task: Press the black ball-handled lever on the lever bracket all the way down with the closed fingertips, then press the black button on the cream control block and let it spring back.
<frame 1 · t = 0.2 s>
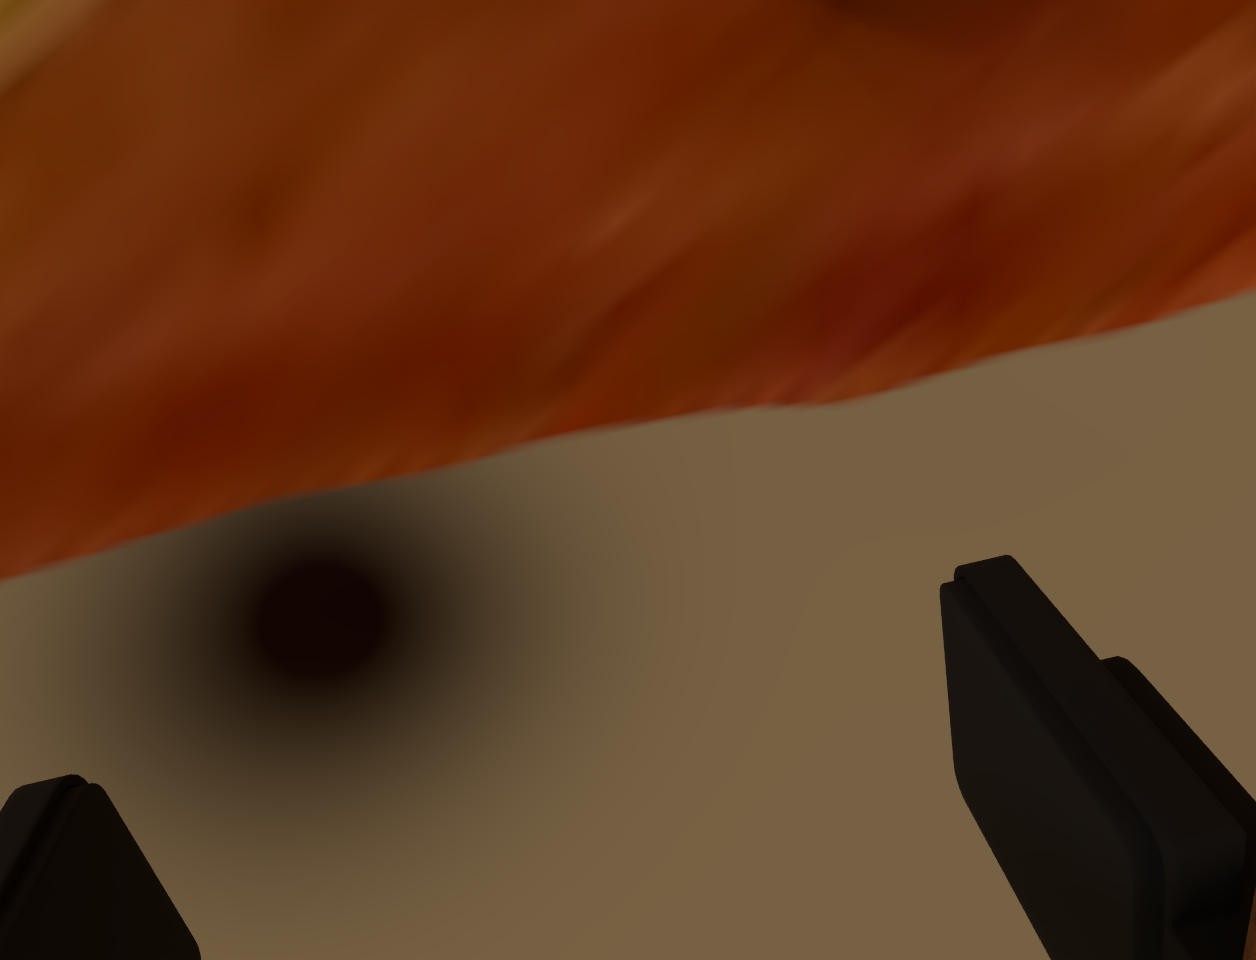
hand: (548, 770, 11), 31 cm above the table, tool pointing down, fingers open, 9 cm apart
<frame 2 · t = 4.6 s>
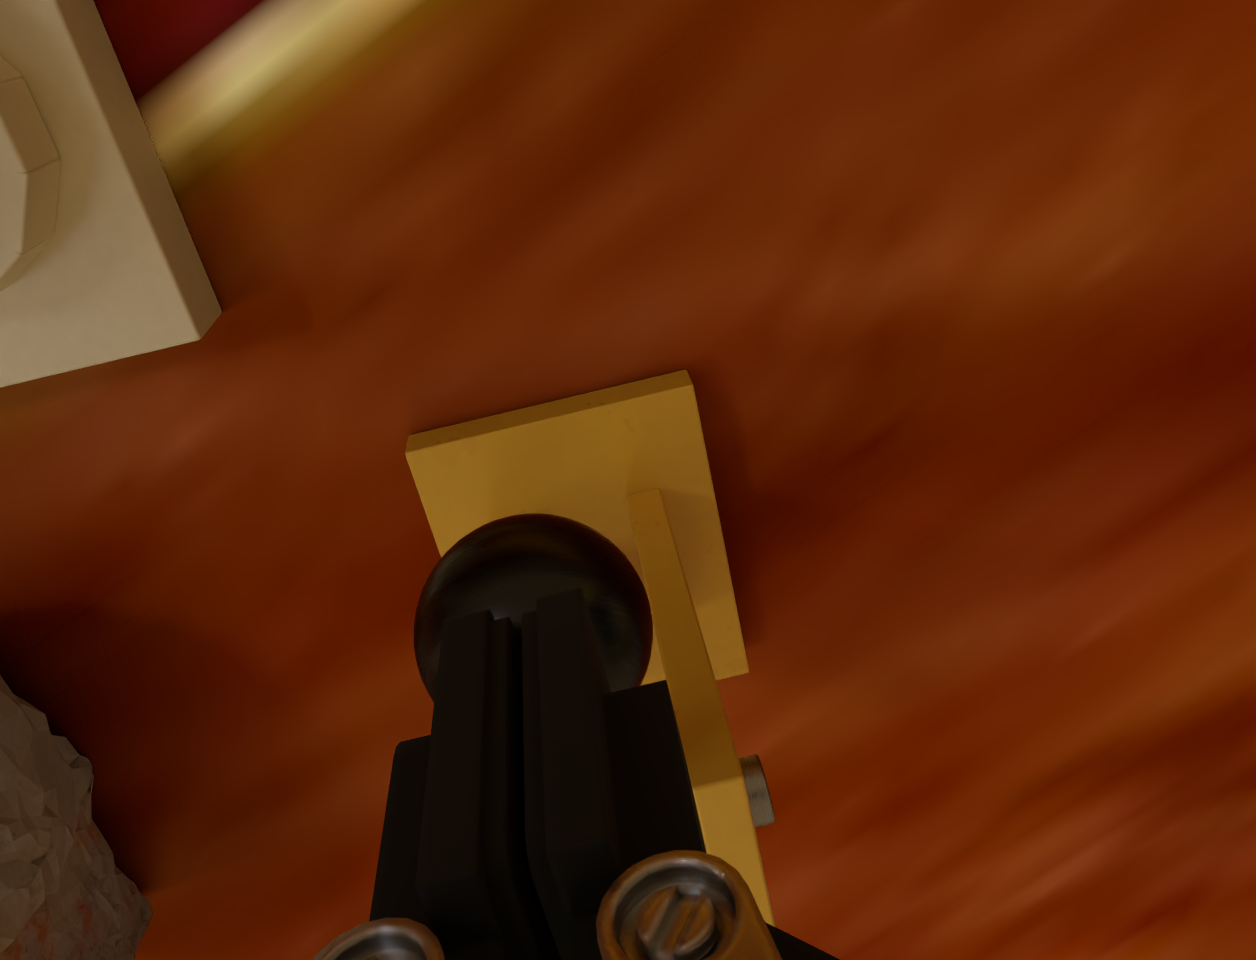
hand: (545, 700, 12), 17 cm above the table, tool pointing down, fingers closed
lever bracket: (587, 550, 31), on the table
press lever: (588, 744, 17), point 13 cm above the table, hinge at 27.6°, touching gripper
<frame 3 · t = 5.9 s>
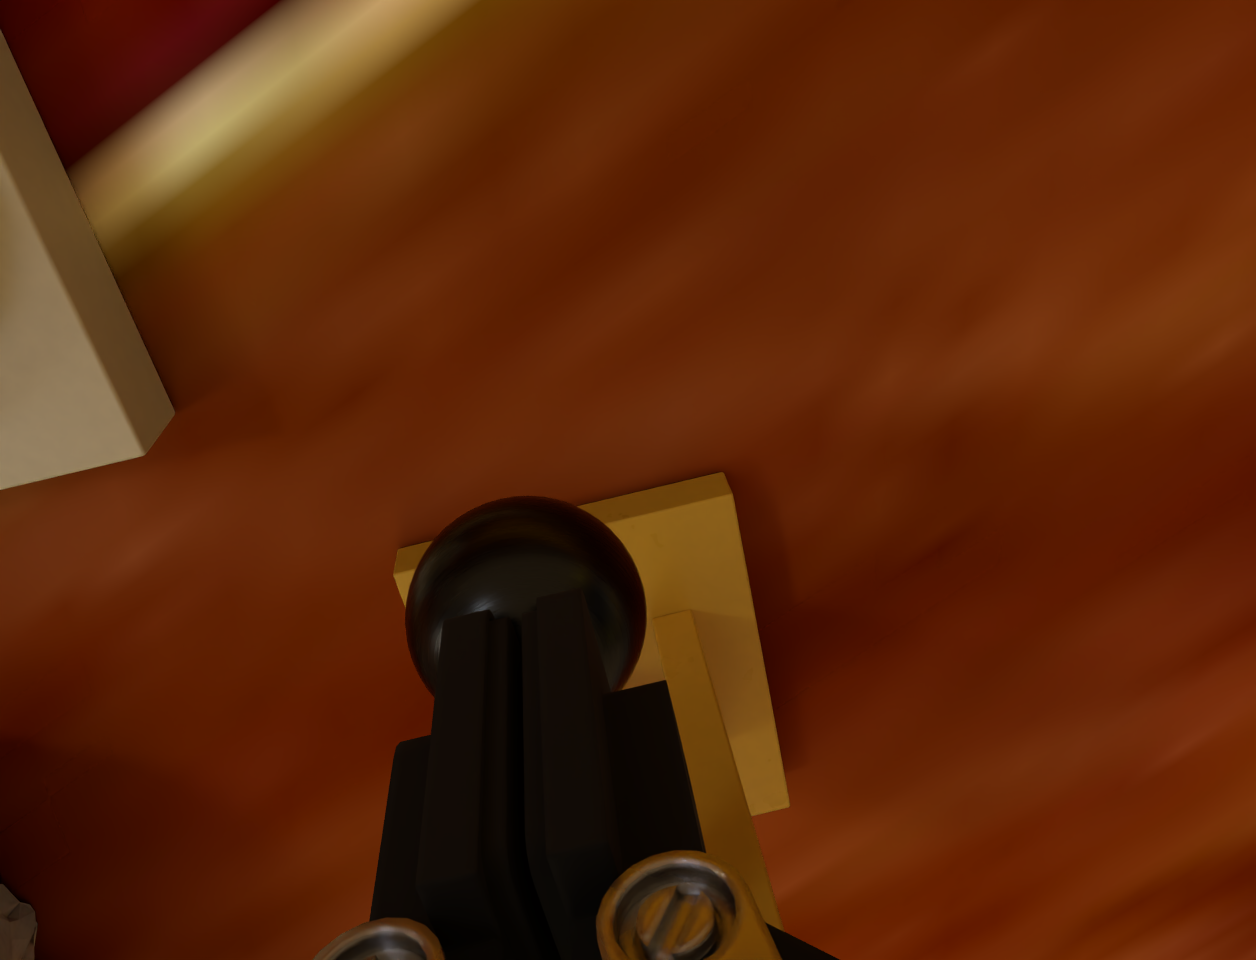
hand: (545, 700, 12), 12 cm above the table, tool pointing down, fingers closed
lever bracket: (605, 672, 27), on the table
press lever: (601, 867, 15), point 11 cm above the table, hinge at -5.8°, touching gripper
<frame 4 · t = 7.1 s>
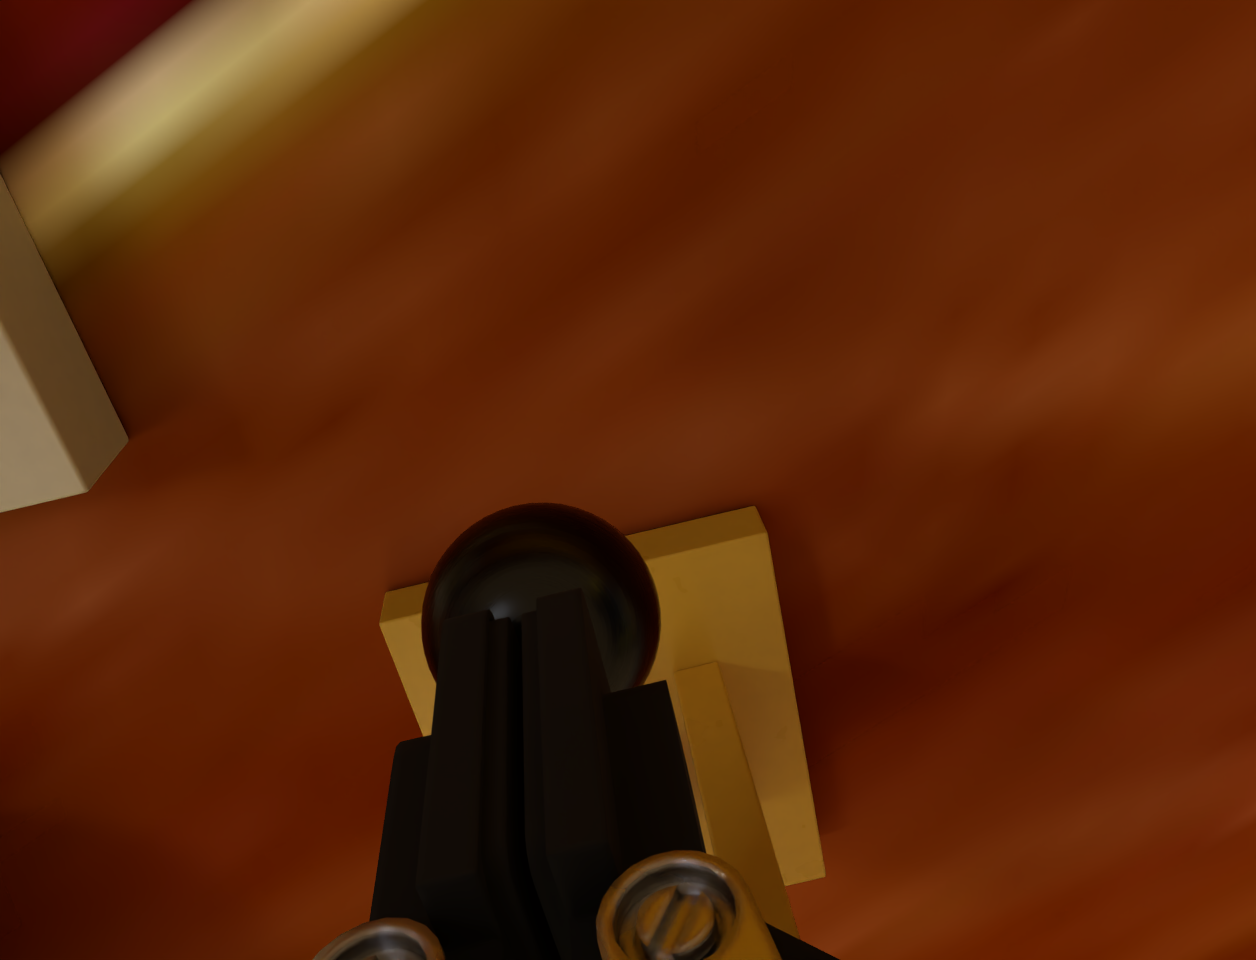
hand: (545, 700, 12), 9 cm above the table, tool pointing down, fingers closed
lever bracket: (619, 727, 24), on the table
press lever: (617, 935, 14), point 9 cm above the table, hinge at -25.5°
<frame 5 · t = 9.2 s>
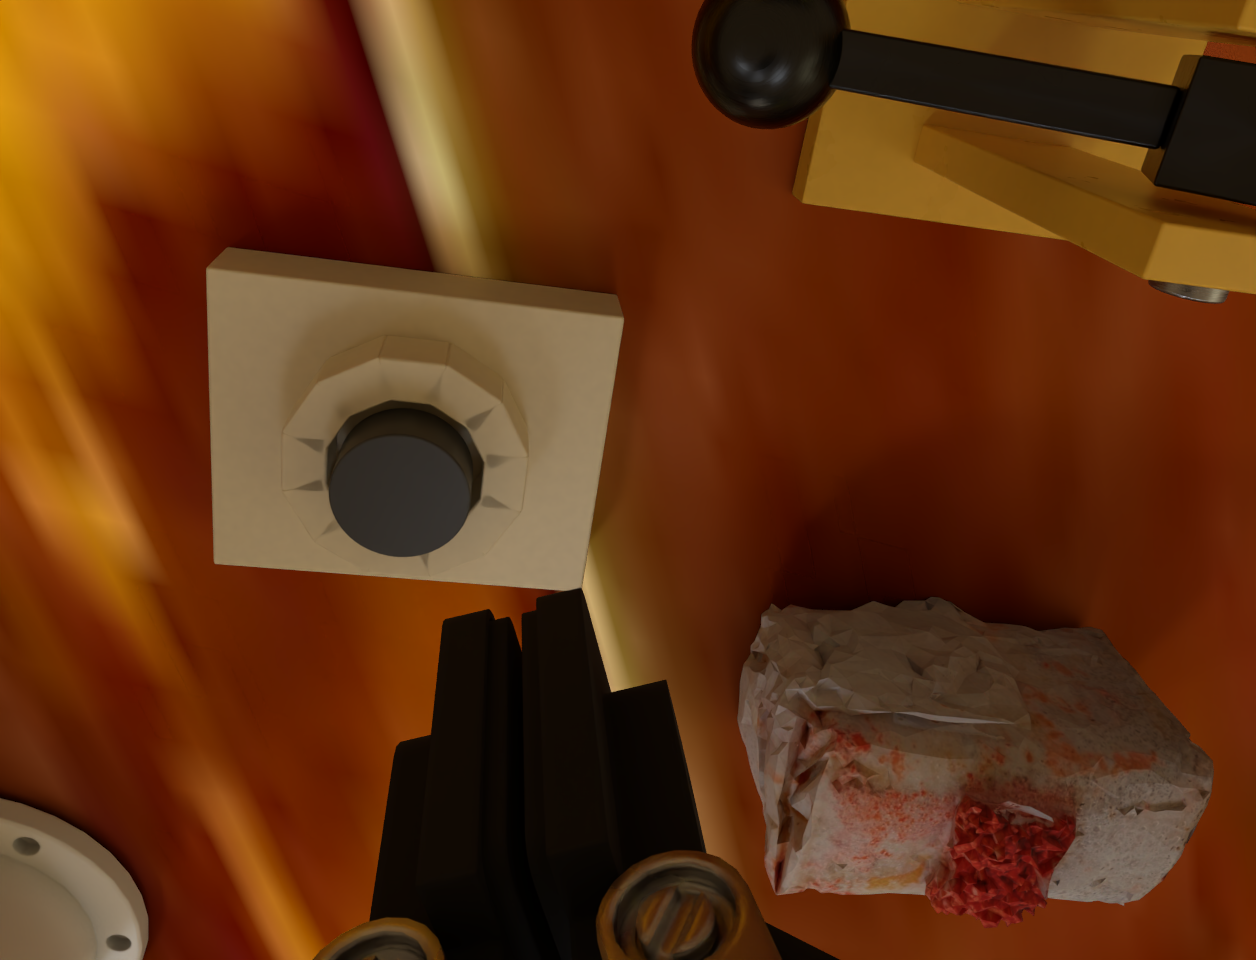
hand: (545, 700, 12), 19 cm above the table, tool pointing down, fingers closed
lever bracket: (996, 72, 28), on the table
control block: (417, 415, 31), on the table
food item: (902, 663, 38), on the table
press lever: (991, 85, 20), point 9 cm above the table, hinge at -25.5°
stop button: (403, 482, 27), point 5 cm above the table, slide at 0.2 cm
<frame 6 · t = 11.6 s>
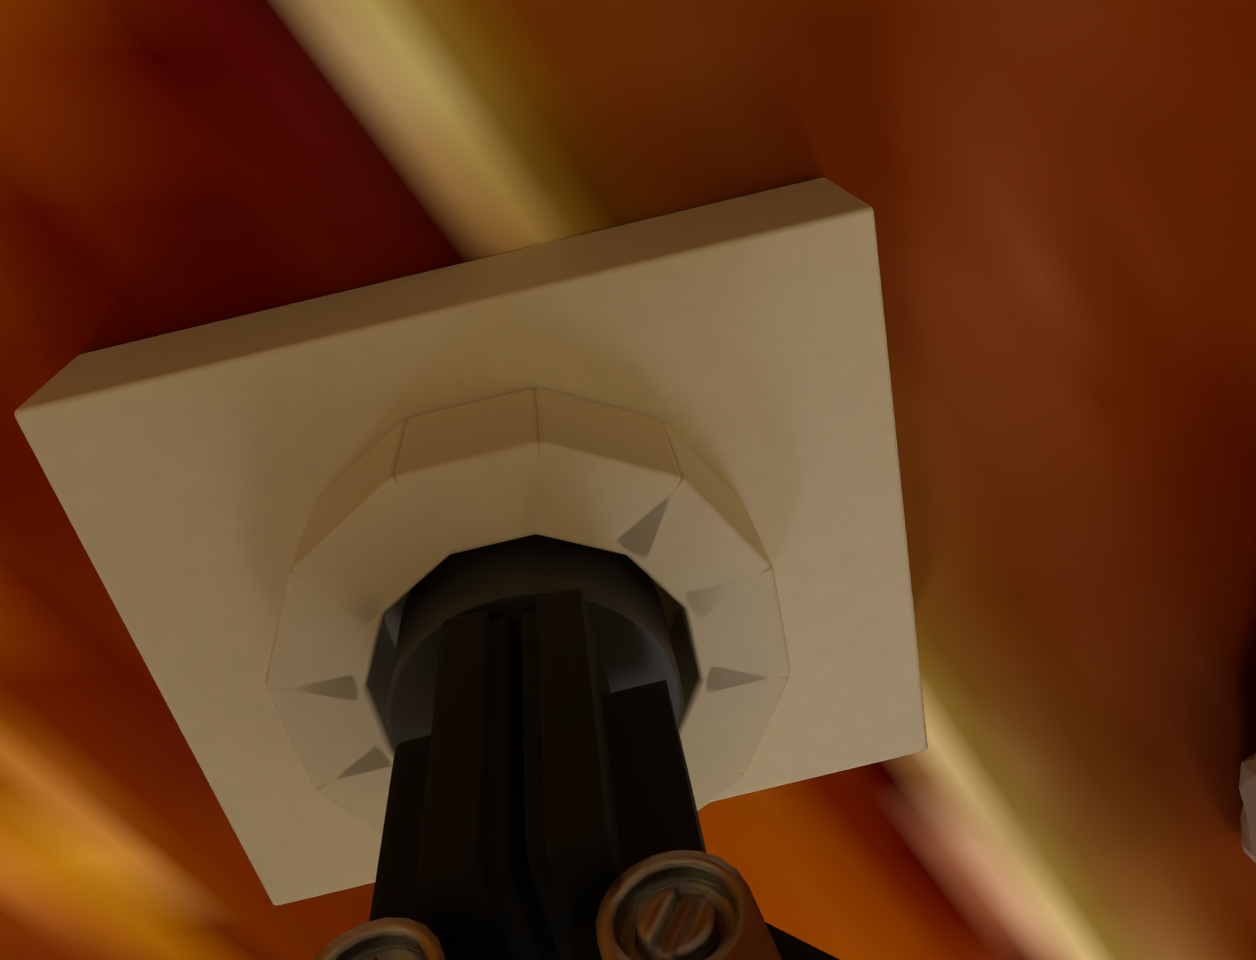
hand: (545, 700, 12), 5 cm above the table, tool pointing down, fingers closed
control block: (529, 531, 17), on the table
stop button: (535, 673, 13), point 4 cm above the table, slide at -0.6 cm, touching gripper
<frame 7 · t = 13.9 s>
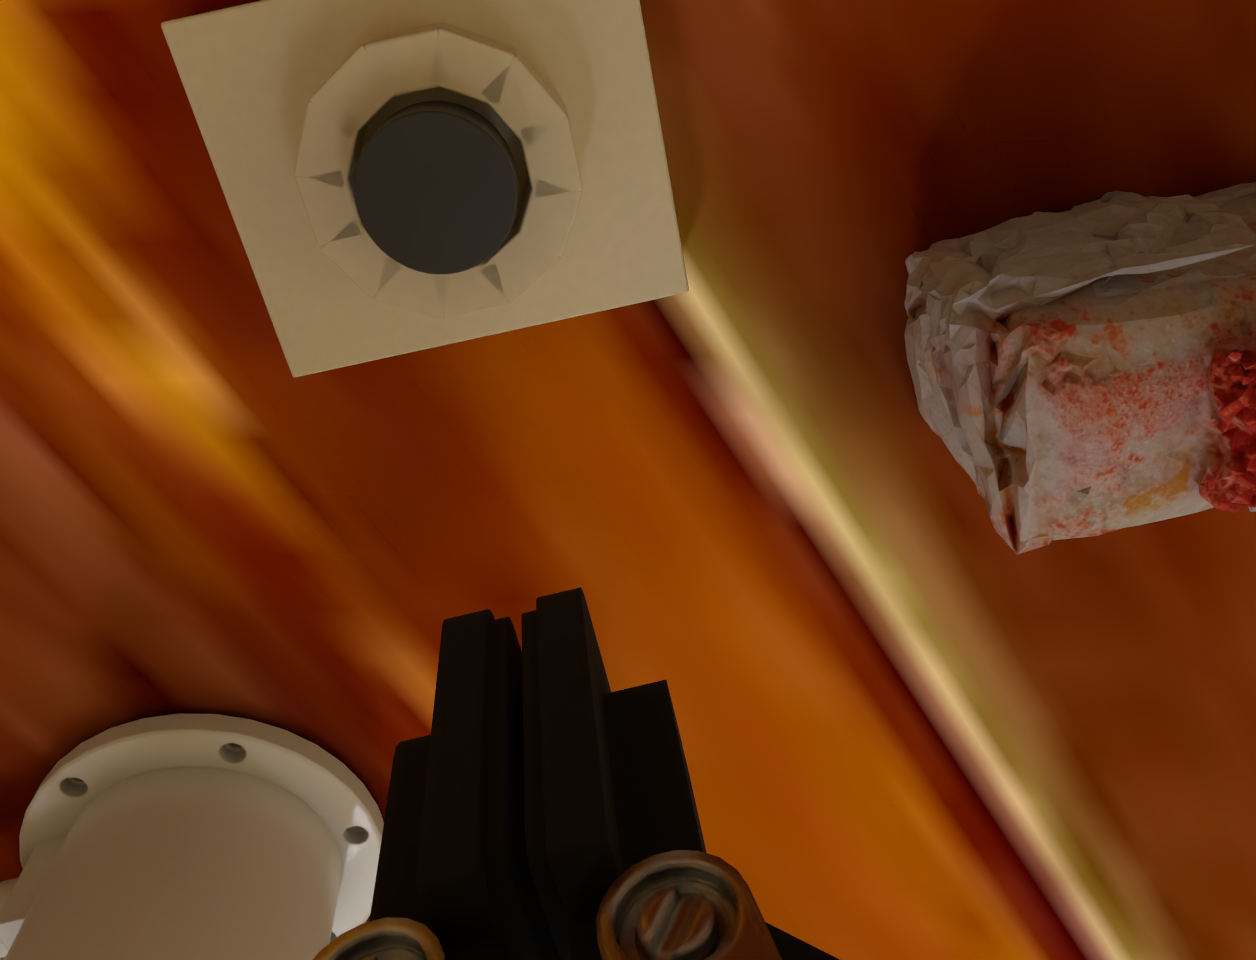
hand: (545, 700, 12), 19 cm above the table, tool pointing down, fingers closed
control block: (450, 153, 28), on the table
food item: (1096, 292, 31), on the table
stop button: (439, 187, 24), point 5 cm above the table, slide at 0.1 cm
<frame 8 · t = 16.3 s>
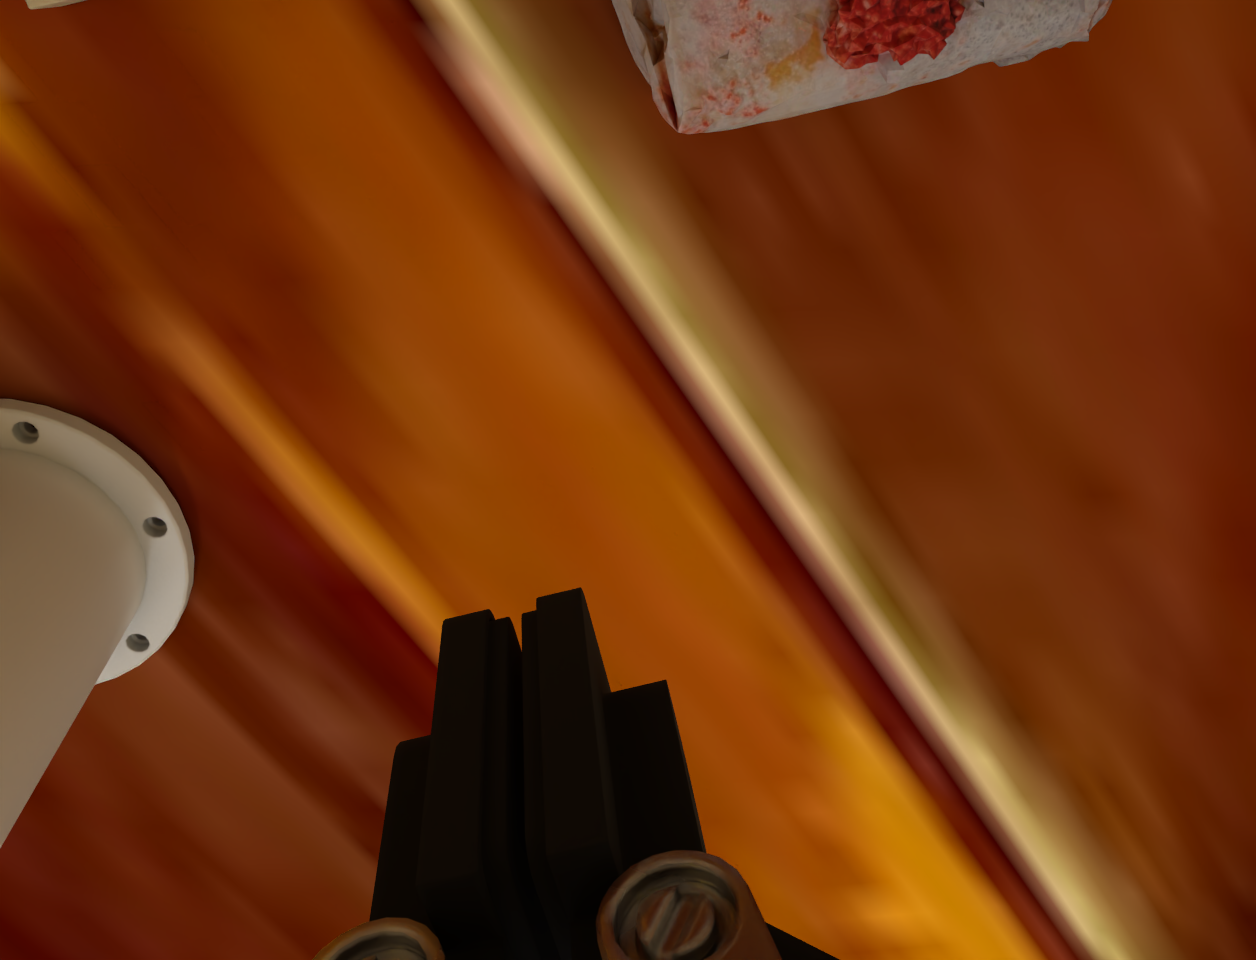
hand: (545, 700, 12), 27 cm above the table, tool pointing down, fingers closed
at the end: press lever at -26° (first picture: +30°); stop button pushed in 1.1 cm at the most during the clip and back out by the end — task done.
